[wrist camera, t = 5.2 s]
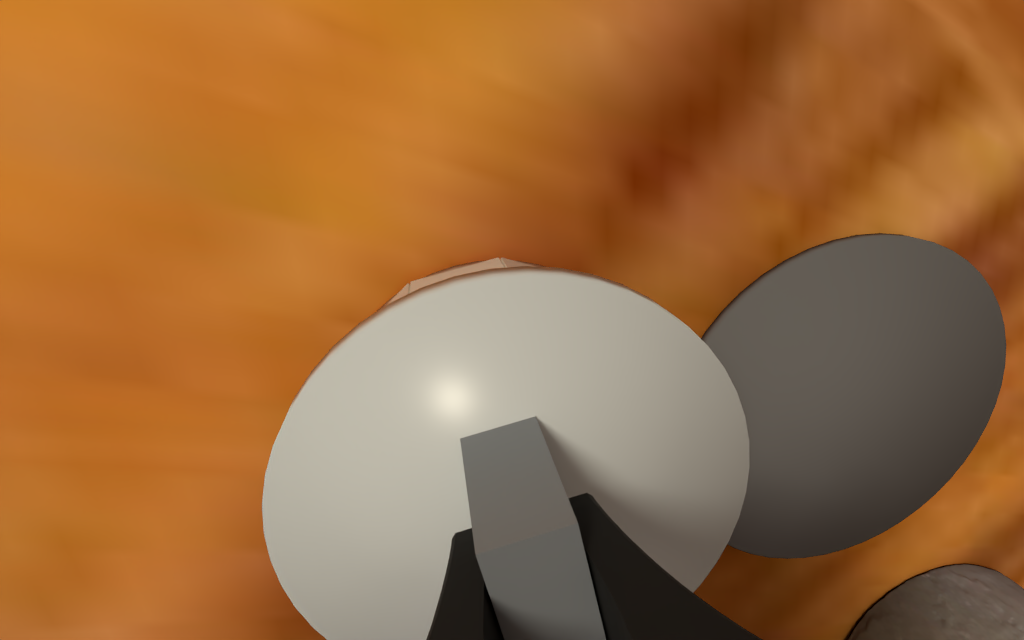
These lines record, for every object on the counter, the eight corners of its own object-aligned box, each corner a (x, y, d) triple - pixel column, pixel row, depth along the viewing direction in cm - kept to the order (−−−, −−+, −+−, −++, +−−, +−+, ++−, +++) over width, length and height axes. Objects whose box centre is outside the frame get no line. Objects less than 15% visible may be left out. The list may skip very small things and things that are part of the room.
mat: (980, 495, 23) (989, 502, 23) (688, 590, 22) (693, 598, 22) (1012, 189, 18) (1025, 190, 18) (643, 294, 17) (648, 297, 17)
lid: (747, 587, 17) (853, 736, 13) (366, 711, 16) (348, 913, 12) (711, 205, 12) (854, 247, 8) (181, 351, 12) (52, 477, 8)
